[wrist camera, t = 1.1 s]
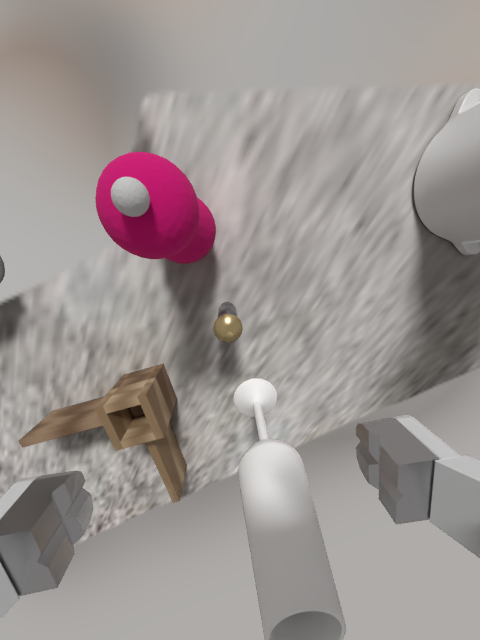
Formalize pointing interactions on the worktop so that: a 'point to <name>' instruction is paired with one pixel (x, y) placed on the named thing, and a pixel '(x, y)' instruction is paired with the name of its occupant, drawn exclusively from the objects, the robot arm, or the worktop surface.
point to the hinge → (127, 422)
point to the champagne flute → (284, 533)
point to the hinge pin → (227, 323)
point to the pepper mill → (153, 209)
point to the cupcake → (1, 270)
